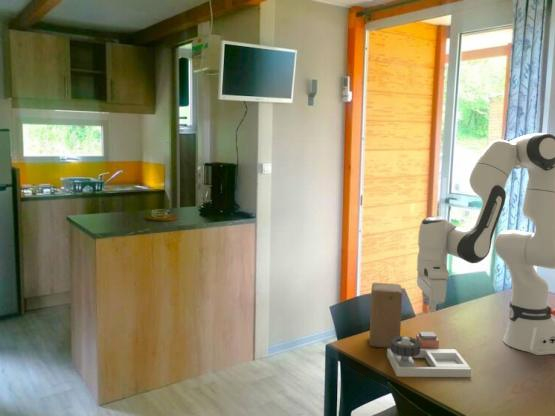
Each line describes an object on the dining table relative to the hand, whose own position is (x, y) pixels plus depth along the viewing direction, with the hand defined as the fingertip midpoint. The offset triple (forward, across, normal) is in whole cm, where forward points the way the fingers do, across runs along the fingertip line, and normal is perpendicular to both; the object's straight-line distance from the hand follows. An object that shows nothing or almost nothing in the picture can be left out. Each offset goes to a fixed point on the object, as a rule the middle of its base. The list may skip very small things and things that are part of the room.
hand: (429, 307), depth 171 cm
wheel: (+10, +11, -10) cm, 18 cm away
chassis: (+15, +11, -3) cm, 19 cm away
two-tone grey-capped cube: (+15, 0, 0) cm, 15 cm away
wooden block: (+15, -7, -13) cm, 21 cm away
